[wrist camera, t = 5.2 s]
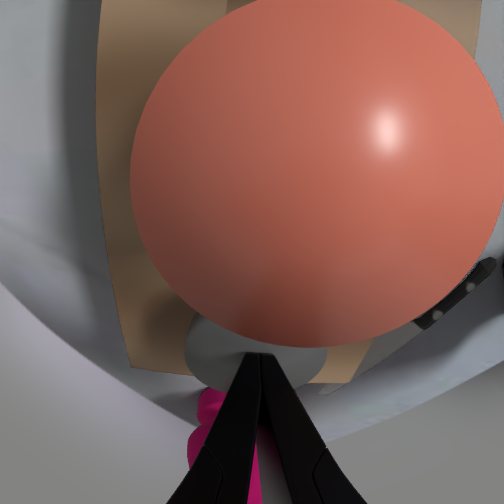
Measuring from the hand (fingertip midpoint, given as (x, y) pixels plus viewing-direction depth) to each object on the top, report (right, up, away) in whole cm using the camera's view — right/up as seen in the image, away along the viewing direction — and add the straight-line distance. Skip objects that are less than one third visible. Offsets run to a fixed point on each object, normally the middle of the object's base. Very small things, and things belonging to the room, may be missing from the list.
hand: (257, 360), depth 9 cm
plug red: (+1, +7, -1) cm, 7 cm away
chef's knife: (+9, -3, +11) cm, 14 cm away
